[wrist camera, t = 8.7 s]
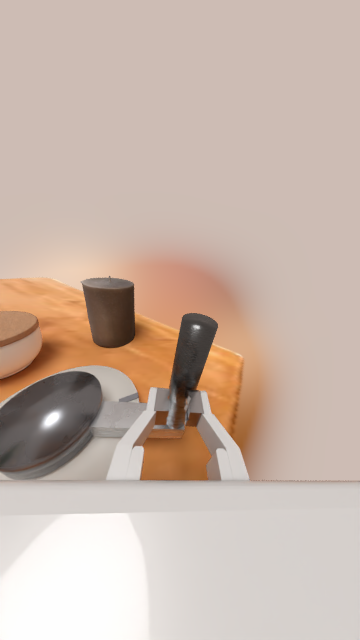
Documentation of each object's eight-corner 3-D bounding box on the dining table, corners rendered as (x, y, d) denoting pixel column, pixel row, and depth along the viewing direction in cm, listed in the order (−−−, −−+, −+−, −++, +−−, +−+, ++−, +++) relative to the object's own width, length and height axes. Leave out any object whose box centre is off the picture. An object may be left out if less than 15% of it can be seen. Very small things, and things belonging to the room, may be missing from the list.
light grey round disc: (-7, 406, 16) (-21, 391, 15) (124, 365, 25) (124, 353, 24) (-199, 774, 5) (-329, 857, 4) (158, 470, 14) (161, 459, 12)
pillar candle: (140, 340, 33) (141, 281, 26) (96, 353, 27) (83, 281, 20) (127, 323, 39) (125, 272, 32) (89, 330, 33) (77, 269, 26)
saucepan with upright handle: (-38, 481, 10) (-384, 320, 3) (52, 384, 17) (-1, 273, 10) (184, 478, 11) (246, 372, 5) (181, 392, 19) (204, 302, 12)
